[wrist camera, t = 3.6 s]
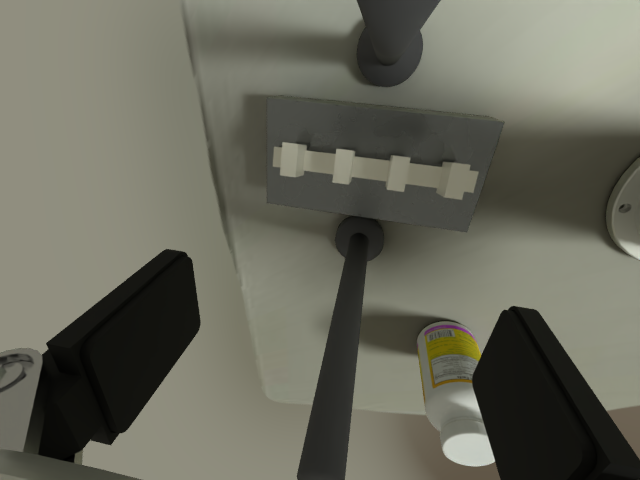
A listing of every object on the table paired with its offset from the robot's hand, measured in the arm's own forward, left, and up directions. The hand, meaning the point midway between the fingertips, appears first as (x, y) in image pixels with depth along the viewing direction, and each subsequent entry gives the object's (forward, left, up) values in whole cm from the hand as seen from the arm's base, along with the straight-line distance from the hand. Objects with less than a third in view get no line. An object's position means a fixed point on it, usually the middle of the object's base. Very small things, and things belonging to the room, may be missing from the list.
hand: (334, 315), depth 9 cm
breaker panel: (0, 0, -23) cm, 23 cm away
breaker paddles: (0, 0, -18) cm, 18 cm away
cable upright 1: (-6, +6, -23) cm, 24 cm away
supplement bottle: (-23, +6, -23) cm, 33 cm away
